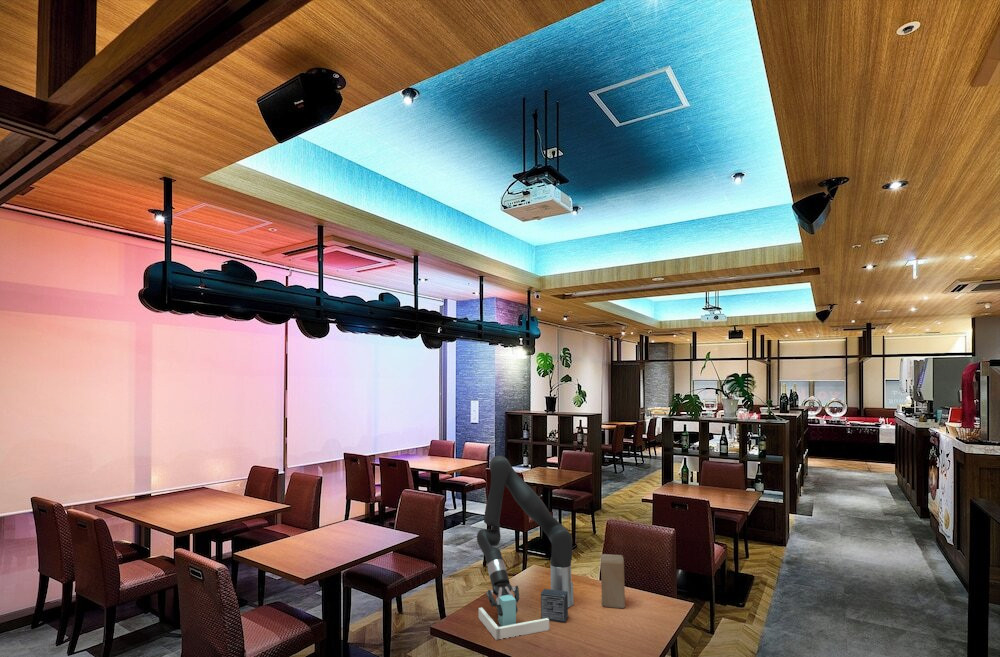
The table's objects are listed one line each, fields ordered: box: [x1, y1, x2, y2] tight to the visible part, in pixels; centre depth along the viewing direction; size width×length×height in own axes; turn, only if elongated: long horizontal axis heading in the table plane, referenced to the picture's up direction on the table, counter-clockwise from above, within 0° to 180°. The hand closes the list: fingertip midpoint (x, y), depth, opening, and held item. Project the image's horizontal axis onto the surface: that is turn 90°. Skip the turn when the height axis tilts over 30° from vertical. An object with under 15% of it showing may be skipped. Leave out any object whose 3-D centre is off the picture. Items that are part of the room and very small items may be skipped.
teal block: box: [497, 595, 517, 626], centre depth 215 cm, size 6×6×10 cm
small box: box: [540, 588, 569, 624], centre depth 224 cm, size 11×6×10 cm, turn 71°
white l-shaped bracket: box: [478, 607, 550, 641], centre depth 218 cm, size 23×21×4 cm
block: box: [600, 553, 626, 609], centre depth 238 cm, size 10×10×20 cm
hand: (508, 614), depth 213 cm, fingers closed on teal block, 5 cm apart
